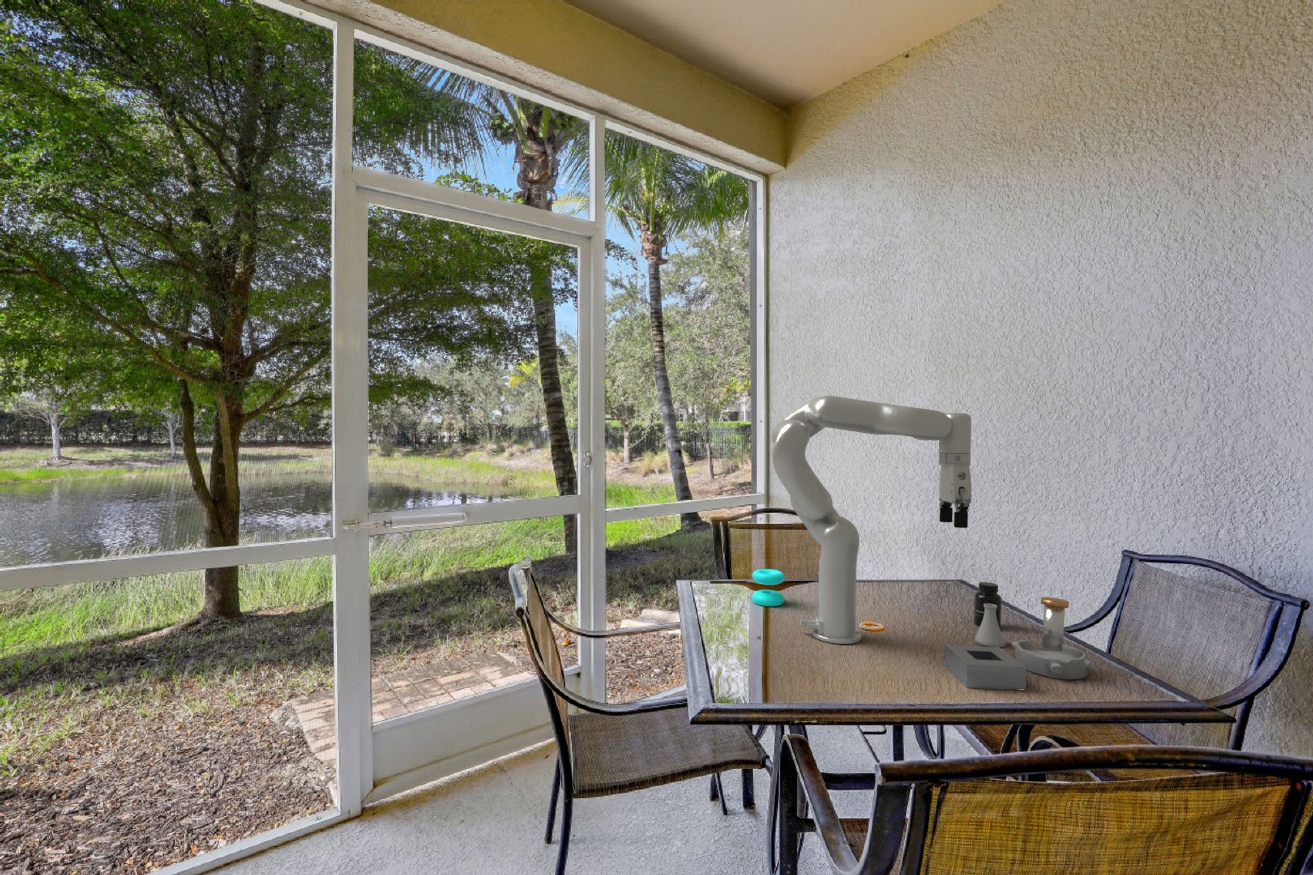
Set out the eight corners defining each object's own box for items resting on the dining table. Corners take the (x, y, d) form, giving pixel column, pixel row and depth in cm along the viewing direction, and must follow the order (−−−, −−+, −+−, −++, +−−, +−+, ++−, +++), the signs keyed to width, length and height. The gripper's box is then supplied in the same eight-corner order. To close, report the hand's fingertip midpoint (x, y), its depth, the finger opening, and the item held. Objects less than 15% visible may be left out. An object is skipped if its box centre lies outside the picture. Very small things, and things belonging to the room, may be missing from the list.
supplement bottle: (975, 627, 170) (975, 585, 170) (972, 621, 176) (973, 579, 176) (1002, 631, 168) (1003, 587, 167) (999, 624, 174) (1000, 582, 174)
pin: (1070, 653, 137) (1073, 603, 138) (1044, 650, 138) (1047, 600, 138) (1059, 646, 143) (1062, 598, 143) (1034, 643, 144) (1037, 595, 144)
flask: (1010, 649, 153) (1010, 609, 153) (979, 647, 155) (979, 607, 155) (999, 639, 160) (1000, 602, 160) (970, 637, 162) (970, 600, 162)
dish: (1003, 658, 148) (1004, 637, 148) (1062, 659, 147) (1062, 639, 147) (1039, 682, 133) (1039, 659, 133) (1103, 684, 133) (1104, 661, 133)
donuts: (788, 575, 187) (757, 575, 186) (788, 607, 188) (756, 607, 186) (778, 567, 197) (748, 568, 196) (778, 598, 197) (748, 598, 196)
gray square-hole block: (966, 687, 129) (967, 664, 129) (944, 666, 141) (945, 644, 141) (1025, 690, 128) (1026, 667, 128) (998, 668, 140) (999, 647, 140)
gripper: (984, 461, 151) (982, 530, 151) (955, 458, 168) (954, 520, 168) (952, 461, 152) (951, 529, 152) (927, 458, 169) (926, 519, 169)
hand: (953, 524), depth 160 cm, fingers open, 9 cm apart
